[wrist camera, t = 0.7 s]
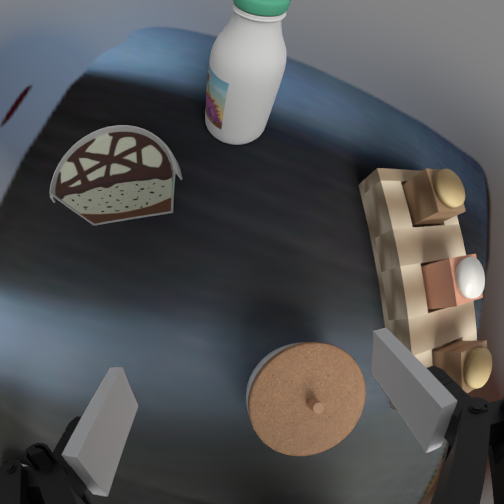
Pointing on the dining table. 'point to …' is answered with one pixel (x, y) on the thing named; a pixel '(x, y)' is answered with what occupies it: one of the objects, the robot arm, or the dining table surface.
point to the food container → (116, 176)
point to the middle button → (453, 281)
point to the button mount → (412, 267)
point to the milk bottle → (245, 71)
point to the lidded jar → (305, 397)
